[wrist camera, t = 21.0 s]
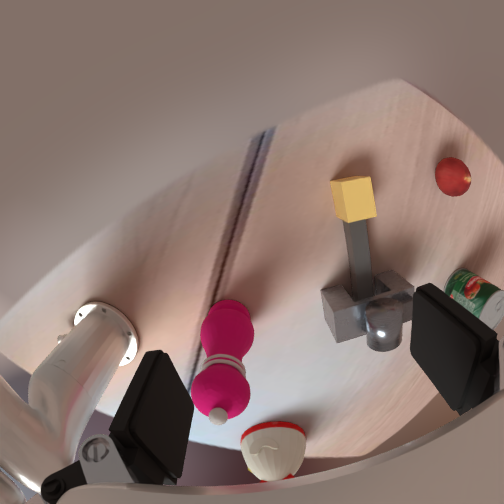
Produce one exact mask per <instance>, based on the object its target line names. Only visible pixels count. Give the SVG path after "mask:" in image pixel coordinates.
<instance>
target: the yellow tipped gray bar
mask: <svg viewBox="0 0 504 504" xmlns="http://www.w3.org/2000/svg"><path fill="white" fill-rule="evenodd" d="M330 184H331V189H332V194H333V199H334V205H335V210H336V216H337V217H338V218H340V219H342V220H343V224H344V231H345V237H346V244H347V251H348V258H349V266H350V274H351V283H352V293H353V301H354V302H356V301H359V300H363V299H366V298H369V297H372V296H373V284H372V271H371V260H370V251H369V242H368V234H367V226H366V219H367V218H372V217H376V216H377V215H376V208H375V201H374V195H373V189H372V183H371V178H370V177H367V176H352V177H347V178H342V179H337V180H332V181H330Z"/></svg>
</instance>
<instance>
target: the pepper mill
mask: <svg viewBox="0 0 504 504" xmlns="http://www.w3.org/2000/svg"><path fill="white" fill-rule="evenodd" d="M200 336H201V342H202V345H203V348H204V350H205V352H206V354H207V358H206V359H205V360H204V361H203V363H202V365H201V369H200V373H199V374H198V375H197V376H196V377H195V379H194V381H193V383H192V387H191V397H192V400H193V403H194V405H195V406H196V408H197V409H198V410H199V411H200V412H201V413H203V414H204V415H206V416H208V417H209V420H210V421H211V422H212V423H213V424H215V425H222V424H224V423H225V422H226V421H227V419H230V418H233V417H236V416H238V415H239V414H240V413H242V412H243V411H244V410H245V408H246V407H247V405H248V403H249V400H250V386H249V384H248V382H247V380H246V376H245V374H246V371H245V367H244V365H243V364H242V358H243V356H244V355H245V354H246V353H247V352H248V351H249V349H250V348H251V346H252V343H253V339H254V328H253V325H252V323H251V321H250V314H249V312H248V310H247V308H246V307H245V306H244V305H243V304H241V303H240V302H237V301H234V300H222V301H219V302H217V303H216V304H214V305H213V306H212V307H211V309H210V311H209V313H208V316H207V317H206V318H205V320H204V321H203V323H202V326H201V334H200Z"/></svg>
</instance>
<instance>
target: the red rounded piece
mask: <svg viewBox="0 0 504 504" xmlns="http://www.w3.org/2000/svg"><path fill="white" fill-rule="evenodd" d="M435 178H436V182H437V185H438V187H439V189H440V190H441V191H442V192H443V193H445V194H446V195H449V196H461V195H463V194H464V193H465V192H466V191H467V190H468V189H469V187H470V184H471V175H470V171H469V169H468V167H467V166H466V165H465V164H464V163H463V162H462V161H461V160H459V159H456V158H453V157H449V158H444V159H443V160H441V161H440V162H439V163H438V165H437V167H436V171H435Z"/></svg>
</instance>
